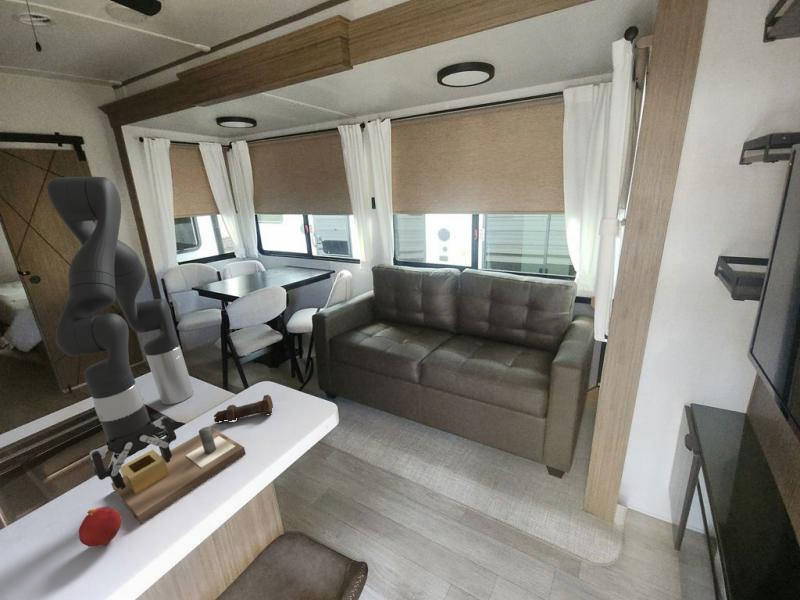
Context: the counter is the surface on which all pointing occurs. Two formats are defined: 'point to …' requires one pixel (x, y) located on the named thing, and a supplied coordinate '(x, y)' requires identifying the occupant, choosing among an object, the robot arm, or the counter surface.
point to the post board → (183, 472)
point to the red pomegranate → (99, 526)
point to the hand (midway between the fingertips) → (145, 473)
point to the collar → (144, 471)
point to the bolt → (245, 410)
